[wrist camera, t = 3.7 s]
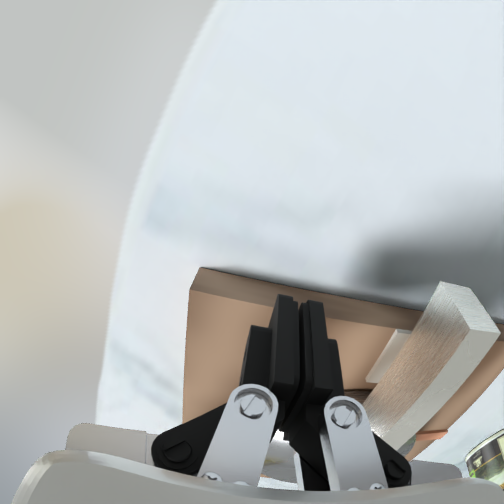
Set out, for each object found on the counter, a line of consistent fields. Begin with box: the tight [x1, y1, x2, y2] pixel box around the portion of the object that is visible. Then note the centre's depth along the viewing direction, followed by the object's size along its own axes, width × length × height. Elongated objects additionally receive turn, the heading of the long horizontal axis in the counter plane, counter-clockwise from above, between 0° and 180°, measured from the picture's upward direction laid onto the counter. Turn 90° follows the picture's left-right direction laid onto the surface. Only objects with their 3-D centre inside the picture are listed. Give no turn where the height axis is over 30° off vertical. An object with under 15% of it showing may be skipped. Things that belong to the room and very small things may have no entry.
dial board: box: [182, 268, 504, 478], centre depth 20 cm, size 22×22×2 cm
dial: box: [261, 281, 501, 483], centre depth 15 cm, size 21×12×4 cm, turn 170°
